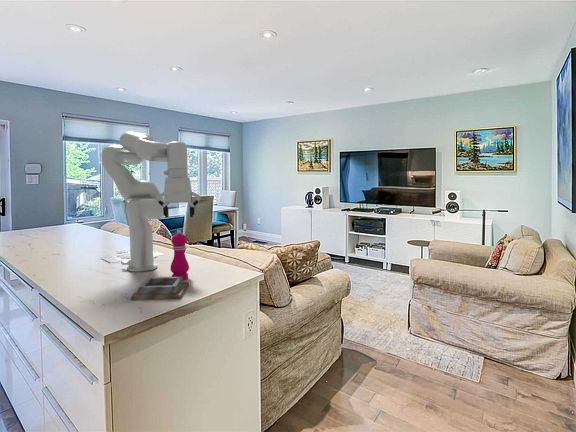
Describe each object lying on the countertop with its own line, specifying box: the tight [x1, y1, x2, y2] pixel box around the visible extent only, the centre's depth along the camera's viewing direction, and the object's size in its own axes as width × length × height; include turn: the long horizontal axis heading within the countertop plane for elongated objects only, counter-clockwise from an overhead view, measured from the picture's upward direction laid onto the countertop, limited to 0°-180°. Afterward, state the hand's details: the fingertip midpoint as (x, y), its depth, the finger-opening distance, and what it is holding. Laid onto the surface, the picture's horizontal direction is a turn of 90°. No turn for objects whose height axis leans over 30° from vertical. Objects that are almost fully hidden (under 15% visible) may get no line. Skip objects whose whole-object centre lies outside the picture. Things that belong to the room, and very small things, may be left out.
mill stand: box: [130, 276, 190, 301], centre depth 125 cm, size 16×16×4 cm
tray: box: [114, 250, 166, 261], centre depth 182 cm, size 20×28×4 cm
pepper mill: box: [170, 229, 190, 281], centre depth 141 cm, size 7×7×20 cm
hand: (179, 217), depth 139 cm, fingers open, 9 cm apart
